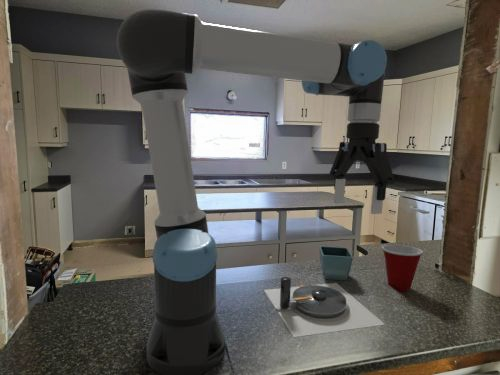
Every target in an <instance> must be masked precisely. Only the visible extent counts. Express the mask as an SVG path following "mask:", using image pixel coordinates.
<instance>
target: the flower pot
mask: <svg viewBox="0 0 500 375" xmlns="http://www.w3.org/2000/svg"><path fill="white" fill-rule="evenodd" d="M353 259H354V256H353V254H352V253H351V251H350V250H349V248H347V247H338V246H337V247H336V246H326V245H325V246H324V245H321V246H319V262H320V267H321V271H322V275H323V277H324V279H325V280H337V281H346V280H347V279H348V277H349V275H350V273H351V268H352V264H353Z"/></svg>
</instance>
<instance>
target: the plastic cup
mask: <svg viewBox="0 0 500 375" xmlns="http://www.w3.org/2000/svg"><path fill="white" fill-rule="evenodd" d="M381 250H382V252H383V257H384V261H385V269H386V277H387V285H388V286H389V287H390V288H392V289H394V290H395V291H397V292H401V293H407V292H409V291H410V289H411V287H412V284H413V281H414V280H415V279H414V278H415V275H416V271H417V267H418V264H419V262H420V259H421V256H422V255H423V252H424V251H423V250H422V249H420V248H417V247H414V246H409V245H404V244H385V245H382V246H381Z"/></svg>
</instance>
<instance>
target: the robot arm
mask: <svg viewBox="0 0 500 375" xmlns="http://www.w3.org/2000/svg"><path fill="white" fill-rule="evenodd" d="M116 47H117V52H118V54H119V57H120V60H121V61H122V63H123V65H124V66H125V67H126V69H127V74H128V80H129V85H130V90H131V91H130V92H131V97H132V99H133V100H134V101H136V102H137V103H139V104H140V106H141V110H142V117H143V122H144V128H145V134H146V140H147V146H148V152H149V158H150V163H151V170H152V174H153V180H154V187H155V192H156V198H157V205H158V210H159V214H158V216H157V217H156V218H155V220H154V222H153V224H154V228H155V234H156V241H155V243H154V244H153V245H154V246H153V252H152V262H153V269H154V270H153V272H154V273H153V274H154V275H153V276H154V277H153V278H154V280H153V281H154V316H155V317H154V321H153V323H152V327H151V330H150V333H149V336H148V339H147V343H146V348H145V349H146V360H147V361H146V362H147V364H148V366H149V367H150V369H151V370H153V371H154V372H155V373H157V374H159V375H202V374H204V373H205V372H208V371H209V370H211V369H213V368H215V367H216V366H217V365H218V364H219V363H220V361H221V360H222V358H223V357H224V354H225V347H226V346H225V345H226V344H225V335H224V331H223V329H222V325H221V323H220V321H219V317H218V314H217V260H218V249H217V243H216V241H215V239H214V237H213V236H212V235H211V234H210V233H209V228H208V220H207V213H206V212H205V211H204V210H203V209H201V208H199V205H198V200H197V199H198V198H197V193H196V185H195V178H194V172H193V165H192V159H191V153H190V146H189V139H188V131H187V126H186V125H187V124H186V119H185V118H186V117H185V113H184V112H185V111H184V106H183V101H184V99H185V97H186V96H187V94H188V92H189V91H188V84H187V77H186V76H187V75H186V74H190V75H191V74H192V75H194V74H195V73H197V72H198V71H199V70H209V71H216V72H217V71H218V72H225V73H233V74H243V75H252V76H260V77H268V78H277V79H284V80H293V81H294V80H296V81H301V86H302V89H303V91H304V92H305V93H306V94H310V95H315V96H318V95H319V96H320V95H321V96H336V97H337V96H339V97H348V109H347V121H348V122H349V123H348V124H346V134H345V135H346V136H345V137H346V138H347V139H348V142H347V141H340V142H339V146H338V151H337V153H336V156H335V157H334V158H335V159H334V161H333V163H332V166H331V168H330V171H329V175H330V176H332V177H333V178H334V187H333V190H334V196H333V197H334V198H333V203H334V204H344V203H345V194H346V193H345V191H346V190H345V189H346V180H347V179H346V174H347V173H348V171H349V170H350V169H351V167H352V166H353V165H354V163H355V162H357V161H359V162H363V163H364V164H365V165H366V167H367V168H368V171H369V173H370V175H371V177H372V180H373V181H374V185H373V186H372V195H371V206H370V214H371V215H377V214H378V215H379V214H380V215H381V214H382V213H383V205H384V201H385V200H386V193H387V192H386V191H387V187H388V186H391V185H394V184H395V176H394V174H393V170H392V166H391V163H390V160H389V157H388V153H387V152H388V151H387V146H388V145H387V143H386V142H376V141H377V139H379V135H380V124H379V123H378V122H380V121H381V112H382V111H381V110H382V100H383V93H384V92H383V91H384V81H385V76H386V74H385V71H386V67H387V63H388V62H387V61H388V57H387V52H386V50H385V48H384V46H382V44H381V43H379V42H378V41H375V40H373V39H372V40H371V39H366V40H361V41H358V42H355V44H350V43H349V44H348V43H342V42H334V41H333V42H331V41H327V40H321V39H320V40H319V39H315V38H314V39H312V38H307V37H299V36H294V35H293V36H292V35H286V34H279V33H273V32H267V31H260V30H253V29H247V28H240V27H235V26H234V27H232V26H226V25H220V24H213V23H207V22H203V21H202V20H201V19H200V17H199V16H198V15H197V14H193V13H187V12H179V11H173V10H172V11H171V10H165V9H153V8H152V9H143V10H139V11H135V12H133V13H131V14H129V16H127V17H126V18H125V19H124V20H123V21H122V23H121V24H120V26H119V28H118V31H117V36H116Z"/></svg>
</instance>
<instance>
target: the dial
mask: <svg viewBox="0 0 500 375" xmlns="http://www.w3.org/2000/svg"><path fill="white" fill-rule="evenodd" d="M291 283H292V279H291V278H290V277H287V276H282V277H280V307H281V308H283V309H288V308H296V309H297V310H298V311H299V312H301V313H303V314H305V315H307V316H311V317H315V318H323V319H328V318H335V317H338V316H341V315H342V314H343V313H344V312H345V310H346V298H345V296H344V295H343V294H341V293H340V292H339V291H337V290H334V289H332V288H329V287H324V286H317V285H318V284H311V285H303V287H300V286H299V287H300V288H298V289H296V290H295V291H294V292H293V298H290V289H291V287H292V286H291V285H292V284H291Z"/></svg>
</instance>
